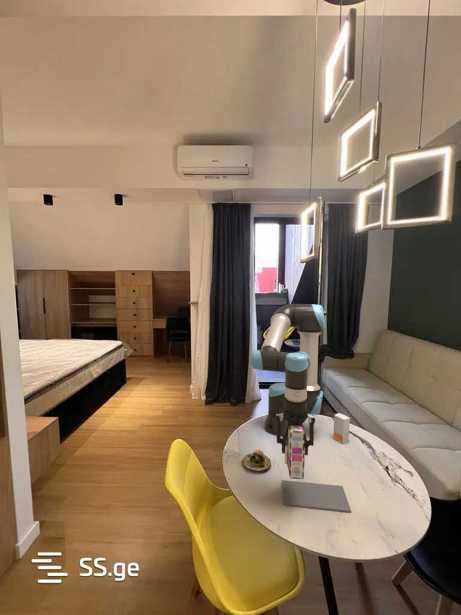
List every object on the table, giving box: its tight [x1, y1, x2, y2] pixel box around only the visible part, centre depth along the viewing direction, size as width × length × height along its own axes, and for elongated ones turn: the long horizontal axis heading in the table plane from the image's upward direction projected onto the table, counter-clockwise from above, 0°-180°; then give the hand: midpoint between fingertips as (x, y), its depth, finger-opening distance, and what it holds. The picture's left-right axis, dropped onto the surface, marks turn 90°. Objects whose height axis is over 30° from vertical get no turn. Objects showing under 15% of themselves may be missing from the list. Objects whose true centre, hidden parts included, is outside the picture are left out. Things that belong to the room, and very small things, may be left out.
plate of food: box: [241, 448, 272, 472], centre depth 121 cm, size 12×12×8 cm
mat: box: [281, 479, 352, 513], centre depth 103 cm, size 12×22×1 cm, turn 82°
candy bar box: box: [286, 425, 306, 480], centre depth 102 cm, size 11×5×16 cm, turn 176°
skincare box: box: [332, 412, 351, 445], centre depth 139 cm, size 6×4×12 cm
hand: (294, 462), depth 103 cm, fingers closed on candy bar box, 5 cm apart
